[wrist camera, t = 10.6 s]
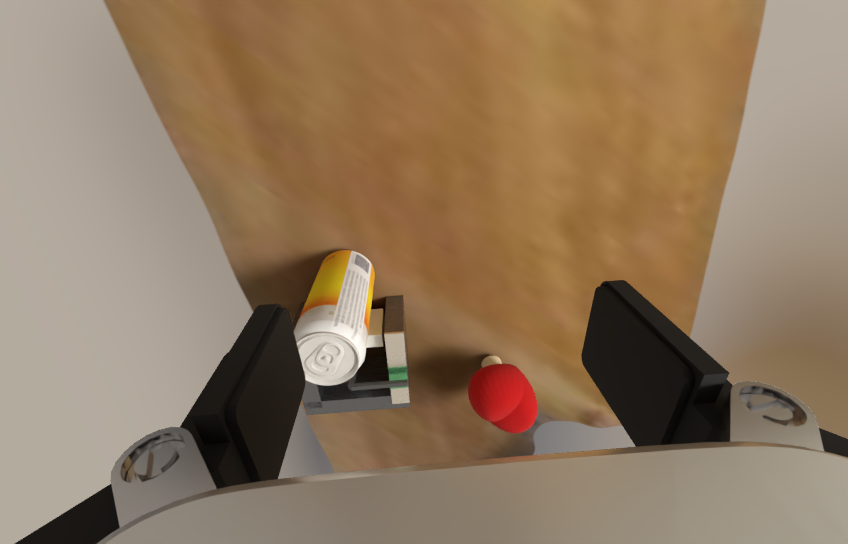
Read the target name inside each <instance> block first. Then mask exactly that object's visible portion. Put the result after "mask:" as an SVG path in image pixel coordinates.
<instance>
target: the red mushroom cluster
mask: <svg viewBox="0 0 848 544" xmlns="http://www.w3.org/2000/svg"><path fill="white" fill-rule="evenodd" d="M481 366H482V368H481V369H479V370H478V371H476V372H475V373H474V375H473V376H472V378H471V380H470V382H469V387H468V395H469V400H470V403H471V405H472V407H473V409H474V410H475V411H476V413H477V414H478V415H479V416H480V417H481V418H483V419H485V420H487V421H490V422H491V423H492V424H493V425H495V426H496V427H498V428H500V429H502V430H504V431H506V432H510V433H521V432H524V431H526V430H527V429H529V428H530V427H531V426H532V425H533V423H534V422H535V419H536V416H537V400H536V397H535V393H534V391H533V389H532V387H531V385H530V383H529V381H528V380H527V379H526V377H525V376H524V375H523V373H522V372H521V371H520V370H519V369H518V368H517V367H516V366H514V365H510V364H502V362H501V360H500V358H499V357H497V356H488V357H486V358H484V359H483V361H482V363H481Z"/></svg>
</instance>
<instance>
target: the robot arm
mask: <svg viewBox="0 0 848 544" xmlns="http://www.w3.org/2000/svg"><path fill="white" fill-rule="evenodd" d="M582 362H583V365H584V367H585V369H586V370H587V372H588V373H589V375H590V376H591V378H592V379H593V381H594V382H595V384H596V386H597V387H598V389H599V390H600V392H601V393H602V395H603V396H604V398H605V399H606V401H607V403H608V404H609V406H610V407H611V409H612V410H613V412H614V413H615V415H616V416H617V418H618V419H619V421H620V423H621V424H622V426H623V427H624V429H625V430H626V432H627V433H628V435H629V436H630V438H631V439H632V441H633V443H634V444H635V446H636V447H628V448H616V449H604V450H593V451H581V452H580V451H579V452H567V453H554V454H543V455H531V456H519V457H507V458H496V459H484V460H473V461H461V462H450V463H438V464H427V465H416V466H406V467H395V468H384V469H373V470H362V471H351V472H341V473H331V474H321V475H312V476H303V477H293V478H284V479H278V476H279V472H280V469H281V466H282V463H283V459H284V456H285V452H286V449H287V446H288V442H289V439H290V436H291V432H292V429H293V426H294V422H295V419H296V416H297V412H298V409H299V406H300V402H301V399H302V396H303V392H304V389H305V381H306V380H305V373H304V370H303V366H302V362H301V358H300V354H299V351H298V347H297V343H296V339H295V335H294V331H293V328H292V324H291V320H290V316H289V312H288V310H287V309H286V308H282V307H281V306H280V305H279V304H269V305H259V306H257V308H256V309H255V311H254V312H253V314H252V316H251V317H250V319H249V321H248V323H247V324H246V325H245V327H244V329H243V330H242V332H241V334H240V335H239V337H238V339H237V340H236V342H235V343H234V345H233V347H232V348H231V350H230V351H229V353H227V354H226V355H225V356H224V357H223V359H222V360H221V362H220V364H219V366H218V367H217V369H216V370H215V372H214V373H213V375H212V377H211V378H210V380H209V381H208V383H207V385H206V386H205V388H204V389H203V391H202V393H201V394H200V396H199V397H198V399H197V401H196V402H195V404H194V405H193V407H192V409H191V410H190V412H189V414H188V415H187V417H186V418H185V420H184V421H183V423H182V425H181V426H180V427H169V428H165V429H161V430H158V431H156V432H153V433H151V434H149V435H146V436H145V437H143V438H142V439H140V440H138V441H137V442H135V443H134V444H133V445H132V446H131V447H129V448H128V449H127V450H126V451H125V452H124V453H123V454H122V455H121V457H120V458H119V459H118V460H117V461H116V463H115V465H114V467H113V469H112V472H111V484H110V485H108V486H107V487H105V488H104V489H102V490H101V491H99V492H97V493H96V494H94V495H93V496H91V497H89V498H88V499H86V500H85V501H83V502H81V503H80V504H78V505H76V506H75V507H73V508H71V509H70V510H68V511H67V512H65V513H63V514H62V515H61V516H59V517H57V518H56V519H54V520H52V521H51V522H49V523H47V524H46V525H44V526H43V527H41V528H39V529H38V530H36V531H34V532H33V533H31V534H30V535H28V536H26V537H25V538H23V539H22V540H20V541H18V542H17V543H15V544H848V439H846V438H844V437H841V436H838V435H836V434H833V433H830V432H828V431H825V430H823V429H820V428H819V427H818V422H817V419H816V418H815V415H814V413H813V412H812V411H811V410H810V409H809V408H808V407H807V405H805V404H804V403H803V402H802V401H800V400H799V399H798V398H796V397H795V396H793V395H791V394H789V393H787V392H785V391H784V390H782V389H779V388H777V387H774V386H771V385H768V384H764V383H760V382H754V381H742V382H738V383H736V384H734V385H732V384H731V383H730V382H729V381H728V380H726V379H727V377H728V375H729V372H728V371H726V370H725V369H724V368H723V367H722V366H721V365H720V364H718V363H717V362H716V361H715V360H714V359H713V358H712V357H711V356H710V355H708V354H707V353H706V352H705V351H704V350H703V349H702V348H701V347H699V346H698V345H697V344H696V343H695V342H694V341H693V340H691V339H690V338H689V337H688V336H687V335H686V334H685V333H684V332H682V331H681V330H680V329H679V328H678V327H677V326H676V325H675V324H673V323H672V322H671V321H670V320H669V319H668V318H667V317H666V316H664V315H663V314H662V313H661V312H660V311H659V310H658V309H657V308H655V307H654V306H653V305H652V304H651V303H650V302H649V301H648V300H646V299H645V298H644V297H643V296H642V295H641V294H640V293H639V292H637V291H636V290H635V289H634V288H633V287H632V286H631V285H630V284H628V283H627V282H626V281H624V280H618V281H604V282H603V283H602V284H601V286H599V287H597V288H596V290H595V294H594V299H593V303H592V308H591V313H590V317H589V322H588V327H587V332H586V336H585V341H584V346H583V351H582Z"/></svg>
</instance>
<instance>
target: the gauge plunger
mask: <svg viewBox="0 0 848 544" xmlns="http://www.w3.org/2000/svg"><path fill="white" fill-rule="evenodd" d="M384 321H385V319H384V310H383V309H371V312H370V321H369V330H368V338H367V347H366V348H369V347H383V339H384ZM364 361H365V359H364ZM356 374H357V372H356V373H355V374H354V376H353V377H352V378H350V379H349V382H348V388H349V389H351V391H354V390H367V389H379V388H392V387H405V386H408V380H407V379H406V380H393V381H380V382H367V383H355V382H356Z"/></svg>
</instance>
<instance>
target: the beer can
mask: <svg viewBox="0 0 848 544" xmlns="http://www.w3.org/2000/svg"><path fill="white" fill-rule="evenodd" d="M374 278H375V273H374V269H373V266H372V264H371V263H370V261H369V260H368V259H367V258H366V257H365V256H363V255H362V254H360V253H358V252H355V251H351V250H340V251H336V252H334V253H332V254H330V255H328V256H327V257H326V258H325V259H324V261H323V262H322V264H321V267H320V269H319V271H318V274H317V276H316V279H315V281H314V284H313V286H312V288H311V291H310V293H309V296H308V298H307V301H306V303H305V305H304V308H303V310H302V313H301V315H300V318H299V320H298V322H297V325H296V327H295V330H294V335H295V339H296V343H297V347H298V351H299V354H300V358H301V362H302V366H303V370H304V373H305V380H306V381H308V382H311V383H314V384H317V385H324V386H330V385H337V384H341V383H343V382H345V381H347V380H349V379H350V378H352V377H353V376H354V374H355V373H356V372H357V370H358V369H359V368H360V366H361V365H362V363H363V362H364V359H365V355H366V347H367V338H368V330H369V321H370V312H371V304H372V295H373V287H374Z"/></svg>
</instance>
